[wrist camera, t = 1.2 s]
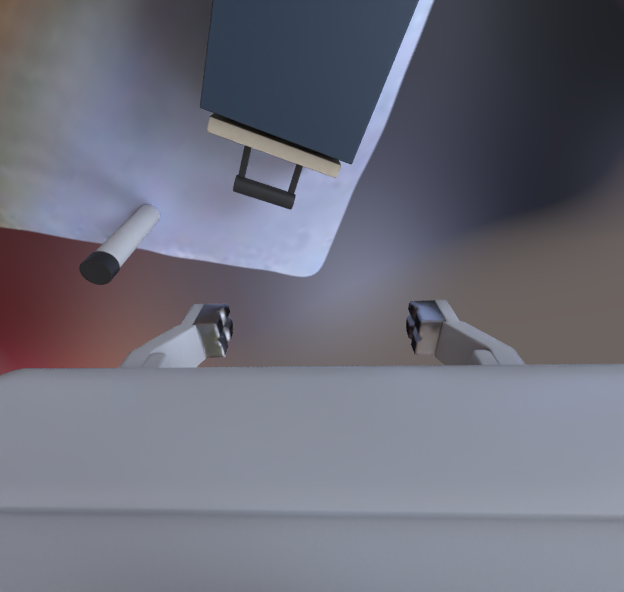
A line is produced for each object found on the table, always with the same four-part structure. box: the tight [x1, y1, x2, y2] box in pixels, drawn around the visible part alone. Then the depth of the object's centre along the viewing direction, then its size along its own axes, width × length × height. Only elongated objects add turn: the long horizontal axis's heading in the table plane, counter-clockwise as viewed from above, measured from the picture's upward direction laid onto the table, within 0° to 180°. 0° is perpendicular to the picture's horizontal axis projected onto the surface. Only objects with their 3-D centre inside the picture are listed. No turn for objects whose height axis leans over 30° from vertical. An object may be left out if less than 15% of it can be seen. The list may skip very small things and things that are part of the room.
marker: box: [80, 205, 160, 285], centre depth 33 cm, size 3×3×14 cm
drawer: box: [207, 113, 341, 210], centre depth 28 cm, size 19×12×8 cm, turn 160°
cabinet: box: [200, 0, 419, 164], centre depth 25 cm, size 15×13×10 cm
